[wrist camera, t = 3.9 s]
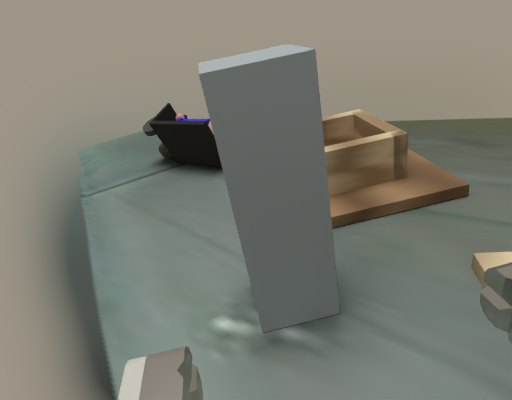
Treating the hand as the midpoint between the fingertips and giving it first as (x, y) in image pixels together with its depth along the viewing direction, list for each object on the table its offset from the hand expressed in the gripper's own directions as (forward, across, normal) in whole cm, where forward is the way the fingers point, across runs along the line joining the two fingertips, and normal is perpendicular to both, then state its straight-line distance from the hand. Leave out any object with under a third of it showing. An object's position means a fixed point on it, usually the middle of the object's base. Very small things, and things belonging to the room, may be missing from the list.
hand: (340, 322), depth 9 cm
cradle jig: (+24, -8, +8) cm, 26 cm away
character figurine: (+38, +5, +8) cm, 39 cm away
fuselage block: (+10, 0, +8) cm, 13 cm away
